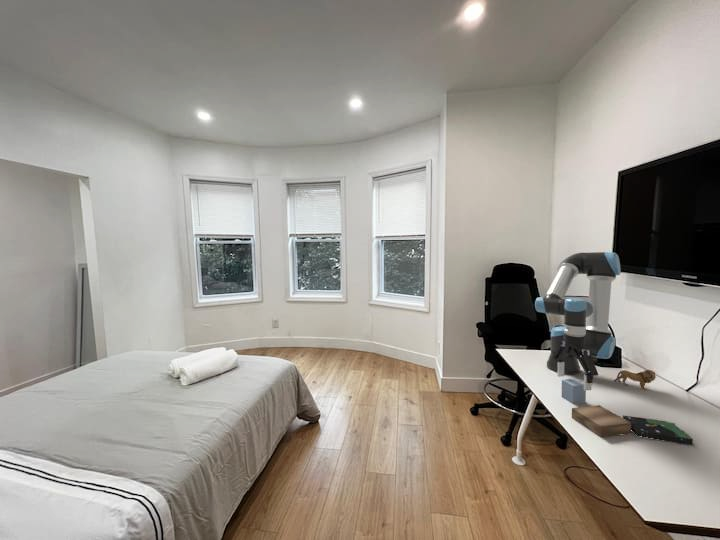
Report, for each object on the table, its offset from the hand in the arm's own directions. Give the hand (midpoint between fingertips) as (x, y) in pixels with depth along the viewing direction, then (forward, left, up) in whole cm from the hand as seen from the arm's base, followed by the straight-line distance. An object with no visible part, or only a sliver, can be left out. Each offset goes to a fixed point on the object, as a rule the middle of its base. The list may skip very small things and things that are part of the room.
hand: (573, 382), depth 125 cm
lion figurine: (-7, +39, -8) cm, 40 cm away
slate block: (0, 0, -8) cm, 8 cm away
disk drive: (+24, +10, -9) cm, 27 cm away
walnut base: (+18, -6, -8) cm, 20 cm away
